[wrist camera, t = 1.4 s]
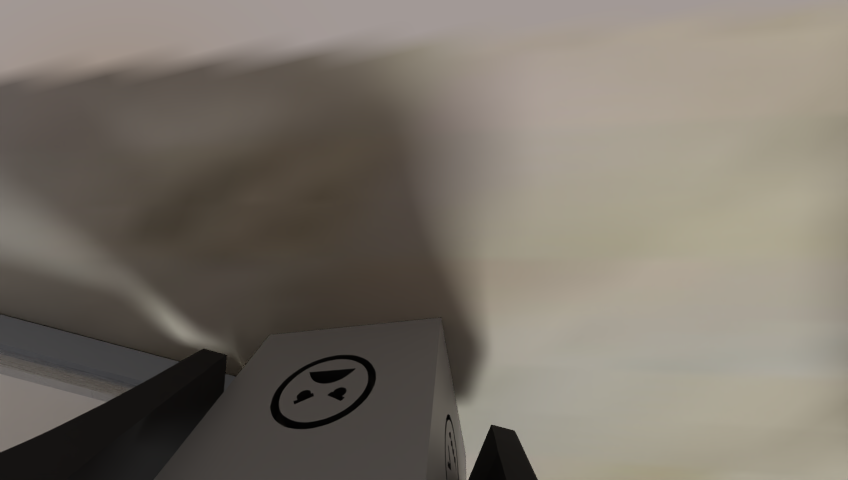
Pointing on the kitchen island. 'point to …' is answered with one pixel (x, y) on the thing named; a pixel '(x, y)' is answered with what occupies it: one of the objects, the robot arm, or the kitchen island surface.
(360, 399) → the dice cube
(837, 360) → the kitchen island surface
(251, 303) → the kitchen island surface
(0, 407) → the mounted modules
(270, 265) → the kitchen island surface
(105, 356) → the board
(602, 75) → the kitchen island surface
